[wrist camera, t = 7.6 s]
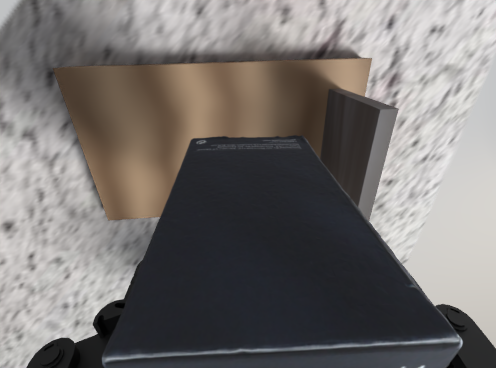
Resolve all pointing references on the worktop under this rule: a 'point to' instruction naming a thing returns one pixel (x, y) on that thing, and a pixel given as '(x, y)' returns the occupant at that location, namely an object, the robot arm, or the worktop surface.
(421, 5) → the worktop surface
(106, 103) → the wooden stand
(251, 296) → the small box
